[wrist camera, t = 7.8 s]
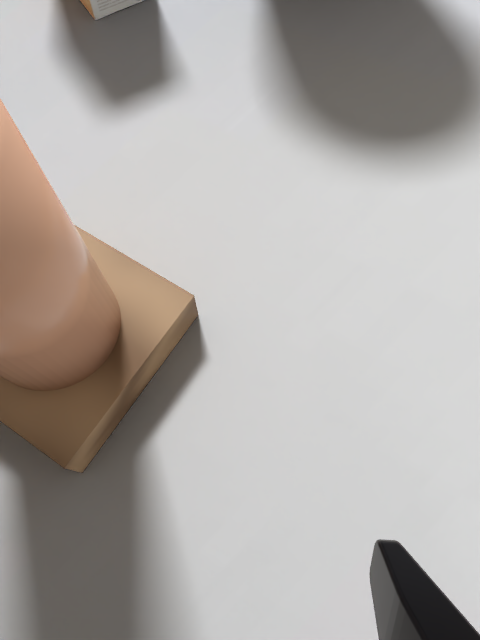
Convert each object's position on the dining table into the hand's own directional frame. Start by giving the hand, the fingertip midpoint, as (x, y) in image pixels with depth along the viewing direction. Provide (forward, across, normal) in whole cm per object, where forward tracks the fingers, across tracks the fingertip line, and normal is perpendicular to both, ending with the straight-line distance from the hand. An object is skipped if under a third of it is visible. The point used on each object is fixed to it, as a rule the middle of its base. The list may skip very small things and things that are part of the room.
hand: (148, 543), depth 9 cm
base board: (+16, +8, +3) cm, 18 cm away
